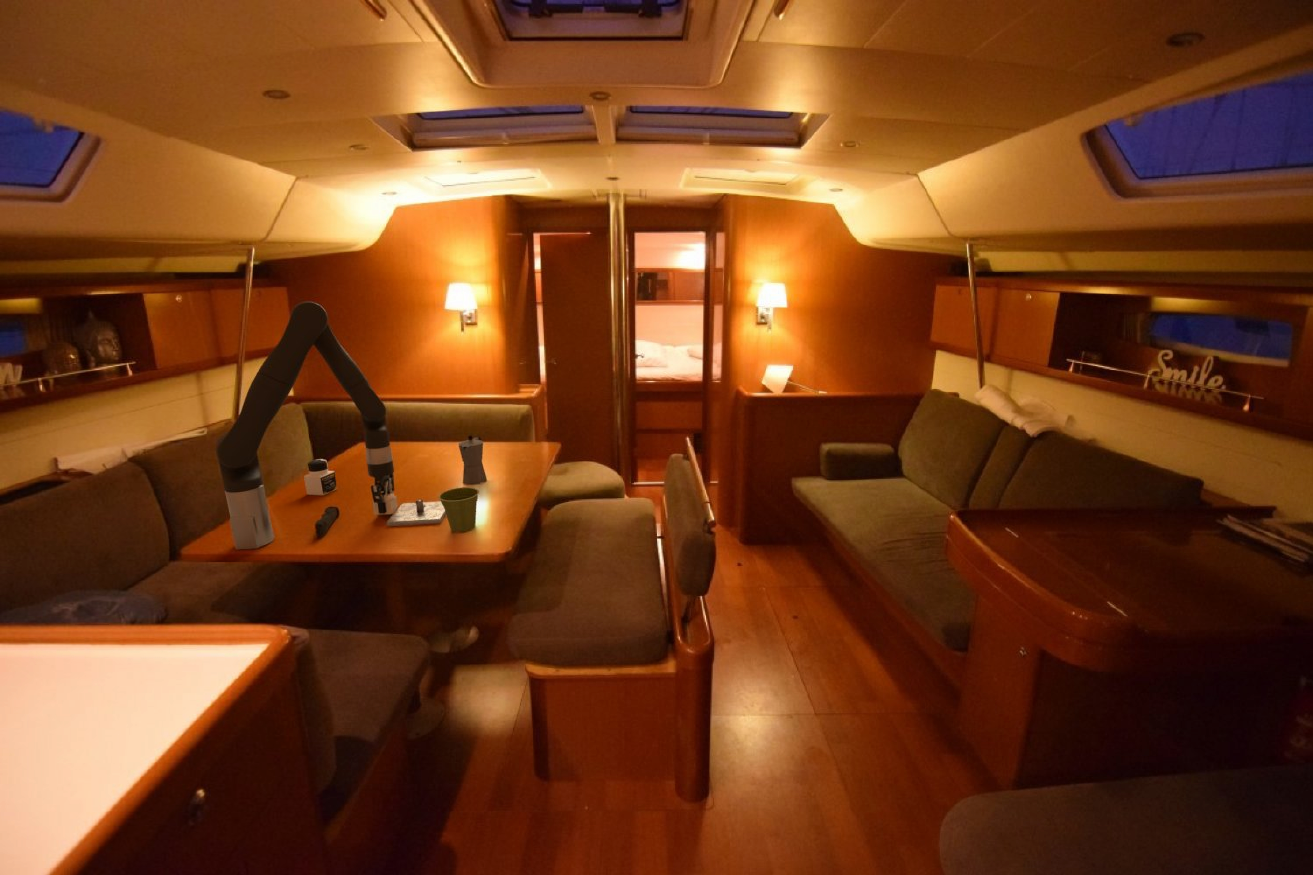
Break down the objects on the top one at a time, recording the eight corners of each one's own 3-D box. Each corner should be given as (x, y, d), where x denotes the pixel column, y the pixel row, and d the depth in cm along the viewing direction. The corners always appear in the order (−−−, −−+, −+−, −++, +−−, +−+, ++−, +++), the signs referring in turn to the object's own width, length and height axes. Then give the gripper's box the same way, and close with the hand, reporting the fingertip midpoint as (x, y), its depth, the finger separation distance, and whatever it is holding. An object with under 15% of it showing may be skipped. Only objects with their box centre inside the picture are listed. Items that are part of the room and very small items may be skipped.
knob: (392, 514, 190) (390, 498, 189) (373, 514, 189) (371, 498, 188) (398, 507, 196) (396, 492, 194) (380, 508, 195) (378, 492, 194)
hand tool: (327, 517, 192) (324, 504, 191) (340, 516, 193) (338, 503, 192) (308, 541, 175) (305, 527, 173) (323, 540, 175) (320, 525, 174)
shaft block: (440, 523, 185) (438, 508, 184) (387, 526, 184) (385, 511, 182) (452, 504, 201) (450, 491, 199) (403, 507, 199) (401, 493, 198)
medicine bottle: (323, 495, 212) (318, 463, 209) (306, 494, 214) (300, 463, 210) (337, 489, 219) (332, 458, 216) (321, 488, 220) (315, 457, 217)
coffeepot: (480, 486, 218) (475, 439, 214) (455, 486, 219) (450, 439, 214) (495, 473, 233) (490, 429, 228) (472, 473, 234) (467, 429, 229)
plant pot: (448, 521, 186) (444, 487, 184) (486, 519, 187) (483, 486, 184) (437, 537, 175) (433, 501, 172) (478, 535, 176) (474, 499, 173)
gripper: (384, 466, 182) (390, 517, 186) (399, 453, 196) (405, 501, 200) (358, 466, 181) (365, 518, 185) (375, 454, 195) (382, 502, 199)
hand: (386, 509), depth 192 cm, fingers closed on knob, 5 cm apart
